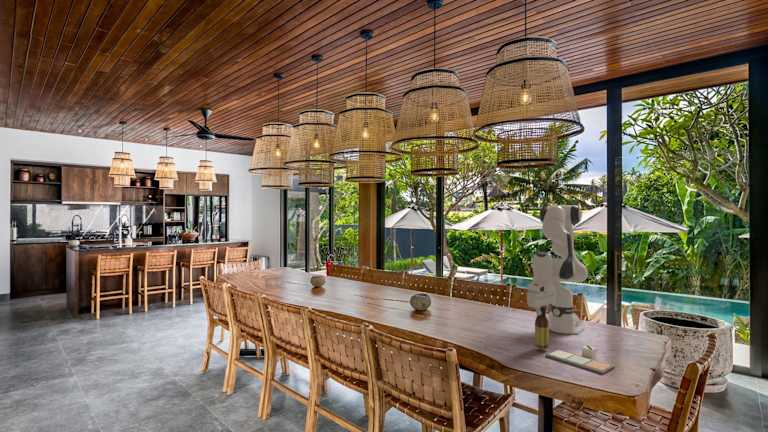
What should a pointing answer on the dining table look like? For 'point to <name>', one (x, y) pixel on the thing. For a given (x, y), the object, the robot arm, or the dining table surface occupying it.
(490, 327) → the dining table surface
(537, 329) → the sauce bottle
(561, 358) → the game strip
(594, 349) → the pale notched block
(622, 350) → the dining table surface
